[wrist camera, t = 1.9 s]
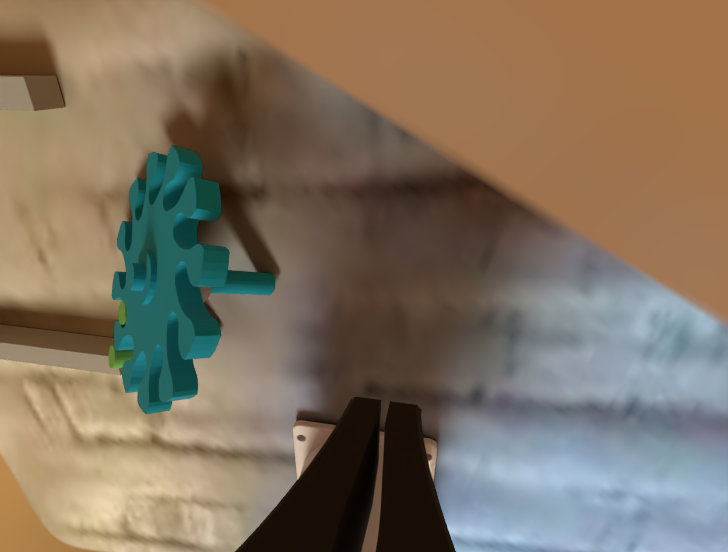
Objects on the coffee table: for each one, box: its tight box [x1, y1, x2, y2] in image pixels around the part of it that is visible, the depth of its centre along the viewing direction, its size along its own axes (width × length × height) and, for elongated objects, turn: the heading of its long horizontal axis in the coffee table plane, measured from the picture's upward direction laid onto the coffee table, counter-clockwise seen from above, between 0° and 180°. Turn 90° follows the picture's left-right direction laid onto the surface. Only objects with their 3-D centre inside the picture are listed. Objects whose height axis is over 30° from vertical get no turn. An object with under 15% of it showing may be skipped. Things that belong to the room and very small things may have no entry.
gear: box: [109, 146, 275, 414], centre depth 18 cm, size 11×6×10 cm
